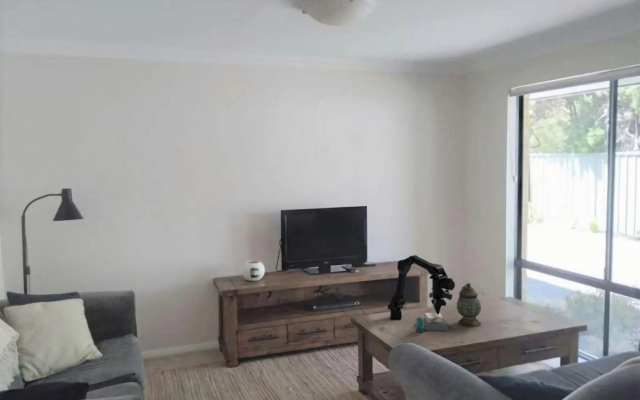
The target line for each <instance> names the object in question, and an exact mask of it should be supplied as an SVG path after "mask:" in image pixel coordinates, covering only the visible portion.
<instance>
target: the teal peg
mask: <svg viewBox="0 0 640 400" xmlns="http://www.w3.org/2000/svg"><path fill="white" fill-rule="evenodd" d="M421 317H422V316H419V317H415V318H416V322H415V323H416V325H415V326H416V327H415V328H416V333H419V334H423V333H424V329H423V318H421Z"/></svg>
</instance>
